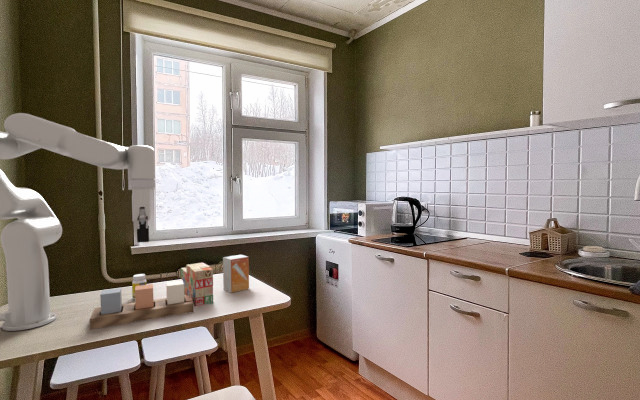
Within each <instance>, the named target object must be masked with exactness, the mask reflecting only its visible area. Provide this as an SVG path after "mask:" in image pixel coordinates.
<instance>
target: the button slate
mask: <svg viewBox="0 0 640 400" xmlns="http://www.w3.org/2000/svg"><path fill="white" fill-rule="evenodd" d="M99 295H100V307H101V315H102V314H109V313H116V312H121V308H122V304H123V303H122V302H123V301H122V297H123V296H122V287H117V288H110V289H103V290H102V291H101V292H100V294H99Z"/></svg>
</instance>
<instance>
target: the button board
mask: <svg viewBox="0 0 640 400" xmlns="http://www.w3.org/2000/svg"><path fill="white" fill-rule="evenodd" d="M153 302H154V307H149V308H142V309H136V307H135V302H129V303H122V308H121V312H116V313H109V314H102V315H101V306H100V307H95V308H93V311H92V313H91V315H90V318H89V330H95V329H100V328H107V327H108V328H109V327H113V326H118V325H119V326H120V325H125V324H126V325H127V324H131V323H137V322H144V321H149V320H155V319H161V318H167V317H169V318H170V317H173V316H178V315H179V316H181V315H186V314H192V313H194V304H193V301H192V298H191V296H190V295H185V294H184V302H182V303H175V304H169V305H168V304H167V297H163V298H158V299H157V298H156V299H153Z"/></svg>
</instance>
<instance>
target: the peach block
mask: <svg viewBox="0 0 640 400" xmlns="http://www.w3.org/2000/svg"><path fill="white" fill-rule="evenodd" d="M153 300H154V284H153V283H150V284H147V285H141V286H136V287H135V299H134V301H135V302H134V303H135V307H136V309H142V308H149V307H154V302H153Z"/></svg>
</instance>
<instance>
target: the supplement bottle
mask: <svg viewBox="0 0 640 400" xmlns="http://www.w3.org/2000/svg"><path fill="white" fill-rule="evenodd" d="M132 279H133V280H132V281H131V283H132V284H131V288H132V289H131V291H132V293H131V294H132V299H133V300H135V287H136V286H141V285H148V284H147V283H148V281H147V279H146V274H145V273H138V274H137V273H136V274H134V275H133V276H132Z"/></svg>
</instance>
